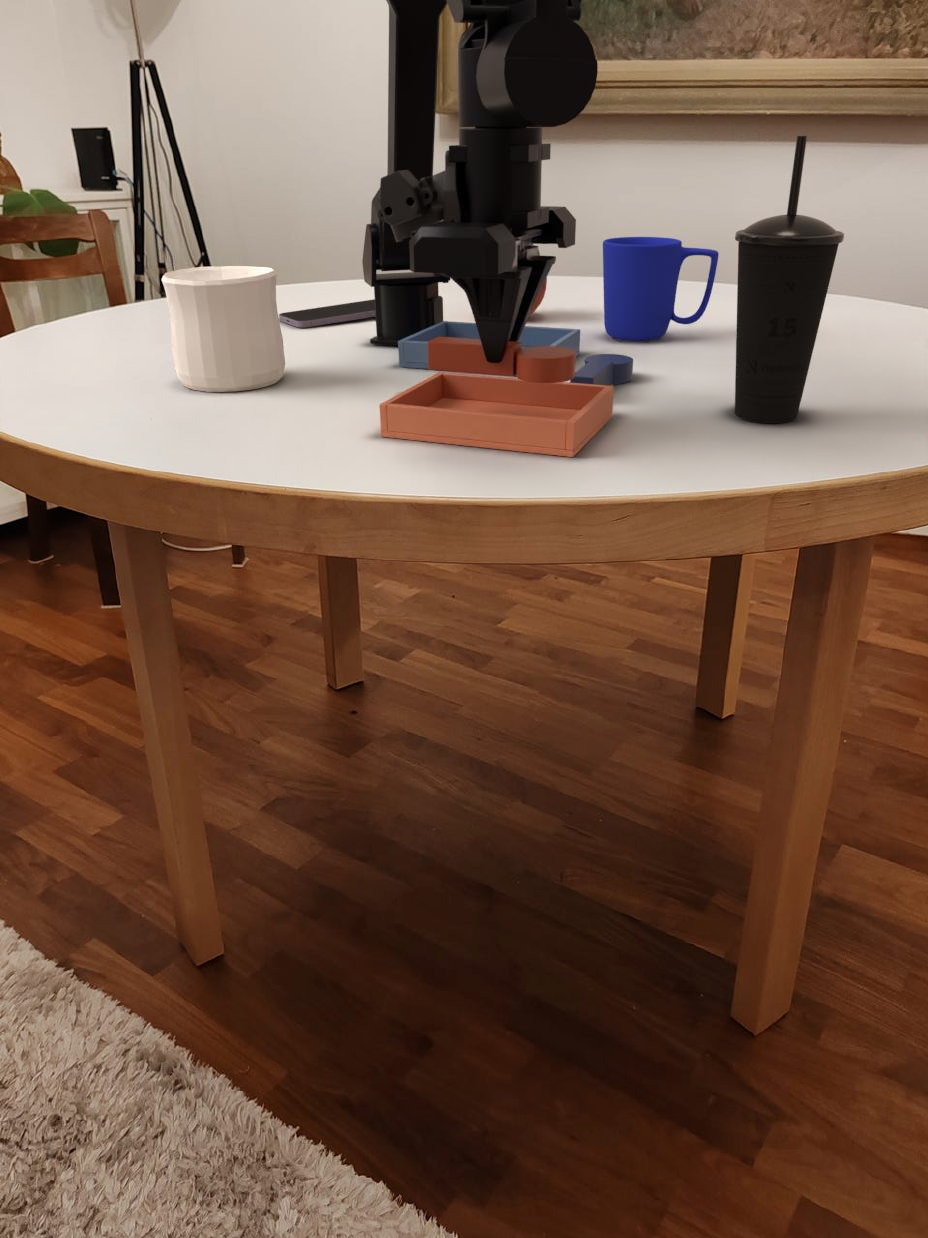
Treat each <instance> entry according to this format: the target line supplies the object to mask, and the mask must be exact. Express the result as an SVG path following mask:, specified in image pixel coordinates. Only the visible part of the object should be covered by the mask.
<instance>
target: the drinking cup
mask: <svg viewBox="0 0 928 1238" xmlns="http://www.w3.org/2000/svg"><path fill="white" fill-rule="evenodd" d="M807 139H808V135H797V136H796V141H795V149H794V156H793V164H792V173H791V180H790V186H789V187H790V188H789V194H788V203H787V209H786V210H787V211H786V214H780V215H774V216H770V217H767V218H763V219H760V220H757V221H756V222H754V223H752V224H750V225H748V226H747V227H746V228H744V229H740V230H737V231H736V232H735V236H734V240H735V241H737V242H738V243H737V244H738V245H737V246H738V247H737V248H738V250H737V288H736V289H737V294H736V295H737V296H736V331H735V332H736V335H735V339H736V340H735V378H734V379H735V383H734V415H735V416H736V417H737V418H739V419H741V420H744V421H748V422H752V423H759V424H783V423H789V422H793V421H795V420H796V419H797V418H798V415H799V410H800V407H801V402H802V398H803V394H804V389H805V387H806V381H807V377H808V373H809V370H810V366H811V362H812V356H813V352H814V349H815V344H816V340H817V336H818V333H819V328H820V323H821V319H822V315H823V311H824V306H825V303H826V298H827V295H828V290H829V286H830V282H831V278H832V274H833V270H834V265H835V262H836V257H837V253H838V249H839V244H841V243H843V241H844V239H845V234H844V232H842V231H840V230H837V229H836V228H834V227H832V226H831V225H829V224H828V223H826V222H824V220H821V219H818V218H814V217H812V216H808V215H802V214H798V206H799V198H800V191H801V184H802V177H803V170H804V163H805V155H806V149H807Z"/></svg>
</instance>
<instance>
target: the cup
mask: <svg viewBox="0 0 928 1238" xmlns="http://www.w3.org/2000/svg"><path fill="white" fill-rule="evenodd" d="M277 276H278V274H277V272H276V271H275V269H273V268H272V267H267V266H248V265H228V266H227V265H225V266H196V267H186V268H181V269H176V270H171V271H166V272H165V273H164V274H163V275H162V277H161V279H160V280H161V282H162V285H163V289H164V292H165V297H166V301H167V305H168V312H169V319H170V338H171V339H170V340H171V348H172V355H173V361H174V369H175V372H176V375H177V378H178V381H179V382H180V383H181V384H182V385H183V386H184V387H186V388H187V389H189V390H194V391H197V392H208V393H230V392H231V393H233V392H234V393H235V392H242V391H243V392H244V391H251V390H256V389H260V388H266V387H269V386H272V385H274V384H277V383H278V382H279V381H281V380H282V377H284V374H285V368H286V358H285V357H286V355H285V346H284V338H283V334H282V328H281V323H280V322H281V321H280V320H279V313H278V306H277V305H278V303H277Z"/></svg>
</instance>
